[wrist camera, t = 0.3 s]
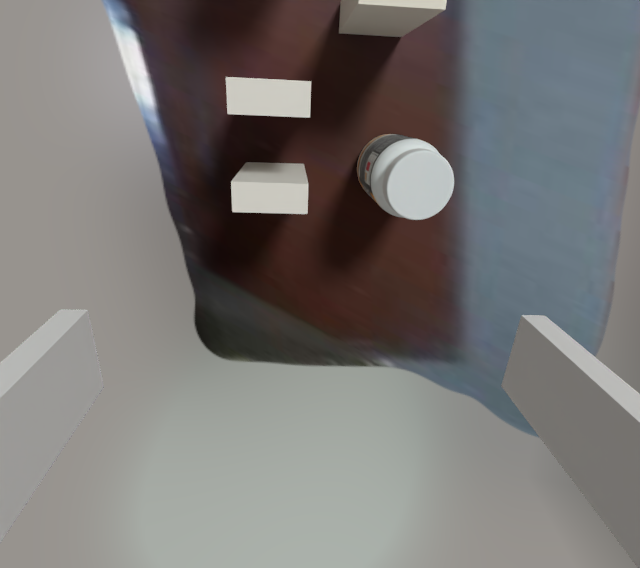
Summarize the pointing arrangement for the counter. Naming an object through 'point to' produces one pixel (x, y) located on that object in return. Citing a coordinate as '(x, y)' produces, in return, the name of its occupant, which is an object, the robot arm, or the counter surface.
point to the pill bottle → (405, 176)
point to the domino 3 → (386, 16)
